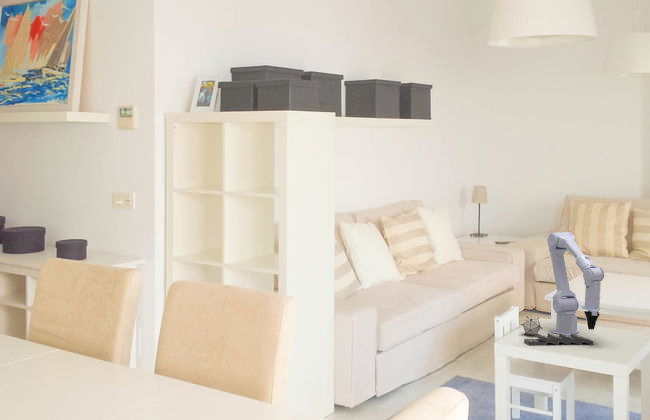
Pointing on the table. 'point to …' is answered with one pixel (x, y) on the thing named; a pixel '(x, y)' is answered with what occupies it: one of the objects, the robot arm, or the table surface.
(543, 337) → the domino
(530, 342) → the domino
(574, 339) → the domino
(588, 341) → the domino
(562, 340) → the domino
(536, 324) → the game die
